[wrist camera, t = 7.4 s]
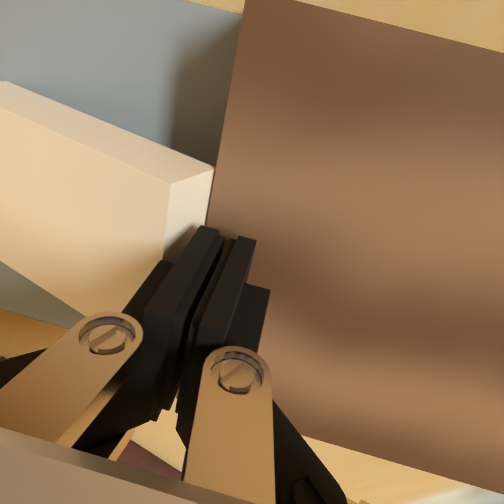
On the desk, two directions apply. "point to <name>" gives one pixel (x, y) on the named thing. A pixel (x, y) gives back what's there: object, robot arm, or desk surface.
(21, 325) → the desk surface
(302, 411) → the brown wooden board
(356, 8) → the desk surface
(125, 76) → the mat
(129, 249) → the cream flat block
